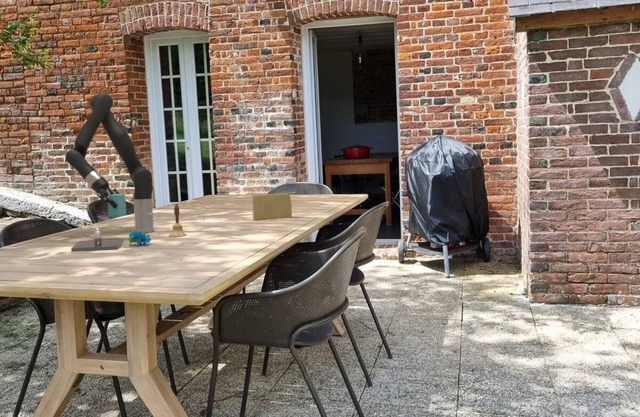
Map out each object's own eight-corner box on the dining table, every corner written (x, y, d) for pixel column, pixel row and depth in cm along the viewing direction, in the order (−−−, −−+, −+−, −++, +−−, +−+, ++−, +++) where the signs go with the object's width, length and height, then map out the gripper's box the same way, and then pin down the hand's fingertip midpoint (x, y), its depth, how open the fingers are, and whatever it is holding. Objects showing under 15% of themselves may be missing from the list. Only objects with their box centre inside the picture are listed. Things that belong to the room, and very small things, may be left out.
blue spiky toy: (155, 240, 328) (144, 228, 321) (151, 251, 324) (140, 238, 317) (135, 242, 332) (123, 230, 325) (131, 253, 328) (120, 241, 321)
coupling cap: (115, 214, 344) (114, 193, 343) (126, 214, 342) (125, 193, 341) (108, 216, 338) (107, 195, 337) (119, 216, 337) (118, 195, 335)
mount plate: (123, 242, 335) (122, 223, 334) (117, 249, 316) (116, 229, 315) (79, 244, 332) (78, 225, 331) (71, 251, 313) (70, 231, 312)
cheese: (291, 217, 411) (291, 191, 409) (292, 219, 401) (291, 193, 400) (253, 218, 410) (252, 192, 408) (253, 220, 400) (252, 194, 398)
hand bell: (189, 235, 352) (188, 203, 350) (175, 237, 346) (174, 205, 344) (179, 233, 358) (178, 202, 356) (166, 235, 352) (164, 204, 350)
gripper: (92, 178, 333) (116, 202, 331) (109, 175, 347) (132, 199, 345) (83, 189, 335) (107, 214, 334) (101, 186, 349) (123, 209, 347)
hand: (120, 206), depth 339 cm, fingers closed on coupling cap, 6 cm apart
